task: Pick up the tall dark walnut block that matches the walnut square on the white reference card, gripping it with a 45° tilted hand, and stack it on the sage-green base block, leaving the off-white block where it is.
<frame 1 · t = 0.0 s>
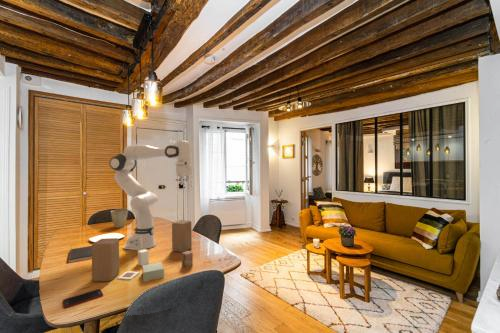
hand: (184, 181, 176), 48 cm above the table, tool pointing down, fingers open, 8 cm apart
wooden block: (106, 277, 131), on the table
reference card: (128, 275, 132), on the table
cell phone: (83, 299, 110), on the table
plate: (107, 240, 197), on the table
base block: (153, 276, 133), on the table
plant pot: (119, 227, 235), on the table
off-white block: (143, 263, 148), on the table
hardcover book: (83, 255, 164), on the table
block: (182, 249, 173), on the table
walnut block: (187, 265, 145), on the table
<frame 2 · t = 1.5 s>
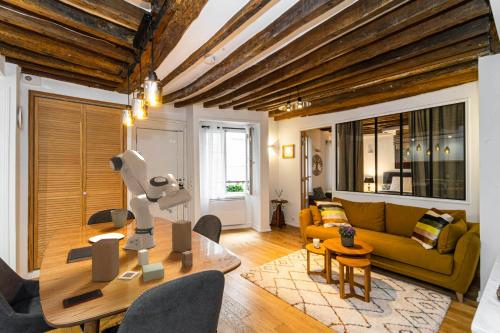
hand: (178, 209, 148), 33 cm above the table, tool tilted 50°, fingers open, 8 cm apart
nothing on the table moved.
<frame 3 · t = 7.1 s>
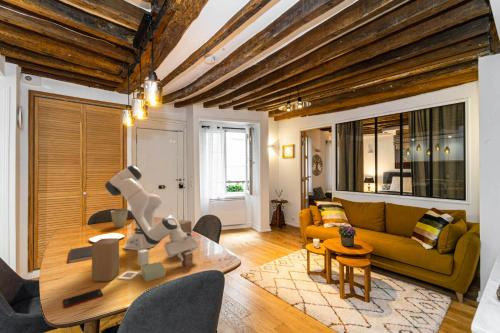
hand: (187, 258, 145), 4 cm above the table, tool tilted 45°, fingers closed on walnut block, 4 cm apart
walnut block: (187, 265, 145), on the table, touching gripper
everything else where it was.
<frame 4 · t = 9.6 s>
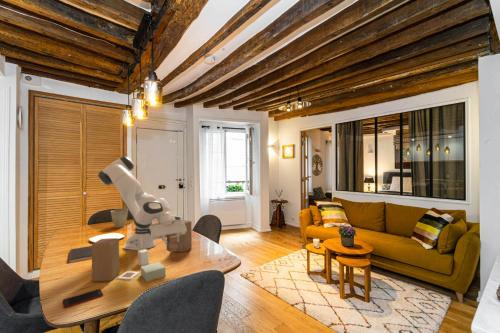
hand: (172, 242, 138), 16 cm above the table, tool tilted 45°, fingers closed on walnut block, 4 cm apart
walnut block: (171, 249, 138), point 12 cm above the table, touching gripper
everything else where it was.
when the fingers open (11 cm above the table, at t = 12.2 s): walnut block drops 2 cm, resting on base block.
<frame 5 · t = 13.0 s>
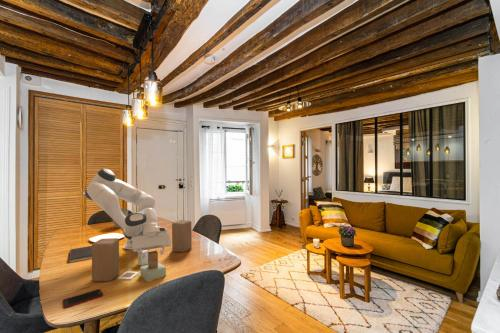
hand: (153, 255, 132), 11 cm above the table, tool tilted 45°, fingers open, 8 cm apart
base block: (153, 276, 133), on the table, touching walnut block
walnut block: (153, 267, 133), point 5 cm above the table, touching base block
everything else where it was.
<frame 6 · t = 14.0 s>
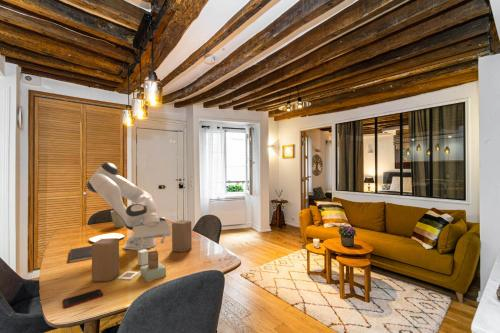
hand: (153, 244, 138), 16 cm above the table, tool tilted 45°, fingers open, 8 cm apart
nothing on the table moved.
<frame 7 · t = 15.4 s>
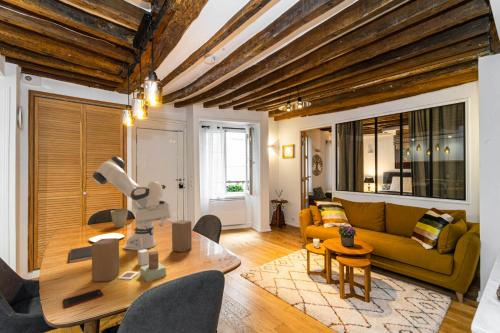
hand: (152, 227, 141), 24 cm above the table, tool tilted 35°, fingers open, 8 cm apart
nothing on the table moved.
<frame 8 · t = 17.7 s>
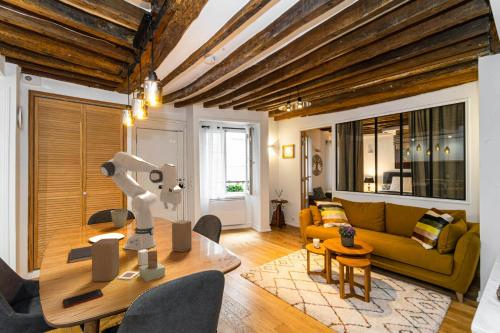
hand: (170, 209, 158), 31 cm above the table, tool pointing down, fingers open, 8 cm apart
nothing on the table moved.
at the end: walnut block 0.3 cm off-centre on the base block, point 5.0 cm above the base block's base; walnut block tilted 0°; off-white block moved 0.1 cm from its start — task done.
